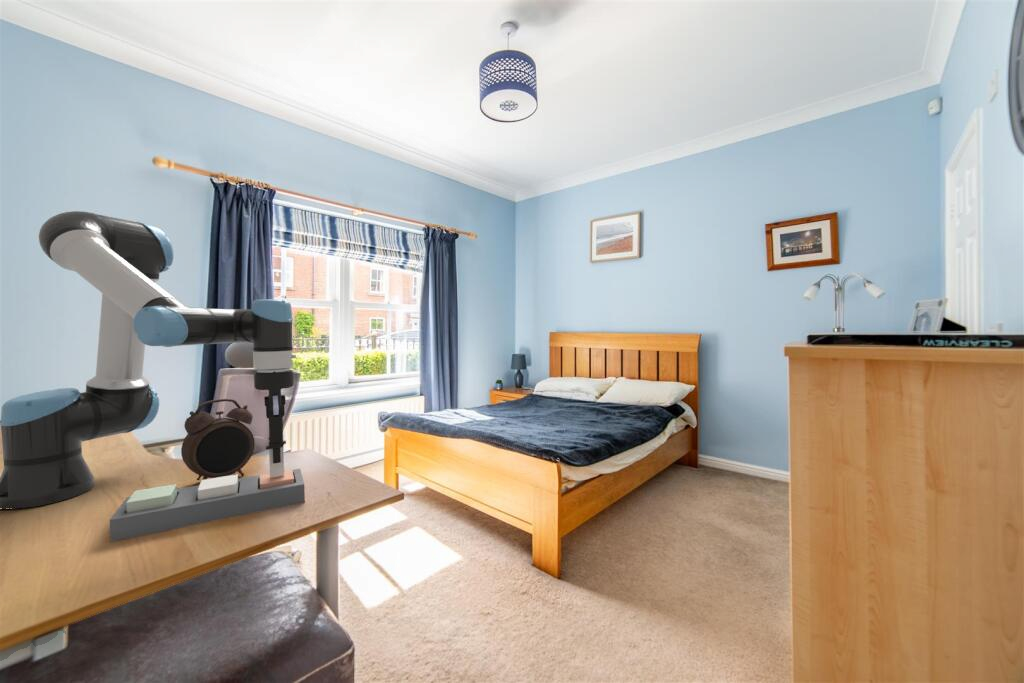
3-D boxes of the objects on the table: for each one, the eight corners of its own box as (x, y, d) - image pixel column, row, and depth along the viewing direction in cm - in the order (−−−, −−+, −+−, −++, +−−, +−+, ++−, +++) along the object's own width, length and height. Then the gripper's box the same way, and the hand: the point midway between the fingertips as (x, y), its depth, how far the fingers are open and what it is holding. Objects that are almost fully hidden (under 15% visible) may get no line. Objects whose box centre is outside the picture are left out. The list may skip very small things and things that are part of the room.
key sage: (136, 505, 81) (135, 490, 81) (177, 498, 85) (176, 484, 85) (127, 518, 76) (126, 502, 76) (171, 510, 79) (170, 495, 79)
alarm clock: (190, 492, 94) (187, 406, 94) (180, 485, 99) (177, 402, 98) (259, 474, 106) (257, 397, 105) (248, 468, 110) (245, 394, 110)
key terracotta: (260, 488, 92) (259, 474, 92) (292, 482, 96) (292, 469, 96) (260, 498, 87) (259, 484, 87) (294, 491, 90) (294, 478, 90)
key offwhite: (202, 493, 87) (201, 480, 87) (238, 487, 90) (237, 474, 90) (198, 505, 81) (197, 490, 81) (236, 498, 85) (236, 483, 85)
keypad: (127, 516, 83) (126, 497, 82) (300, 484, 99) (300, 468, 99) (110, 541, 73) (109, 519, 73) (304, 502, 89) (304, 484, 89)
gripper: (295, 371, 87) (298, 481, 88) (291, 366, 98) (294, 464, 99) (253, 374, 83) (256, 489, 84) (254, 368, 94) (257, 470, 95)
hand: (277, 475), depth 91 cm, fingers closed
